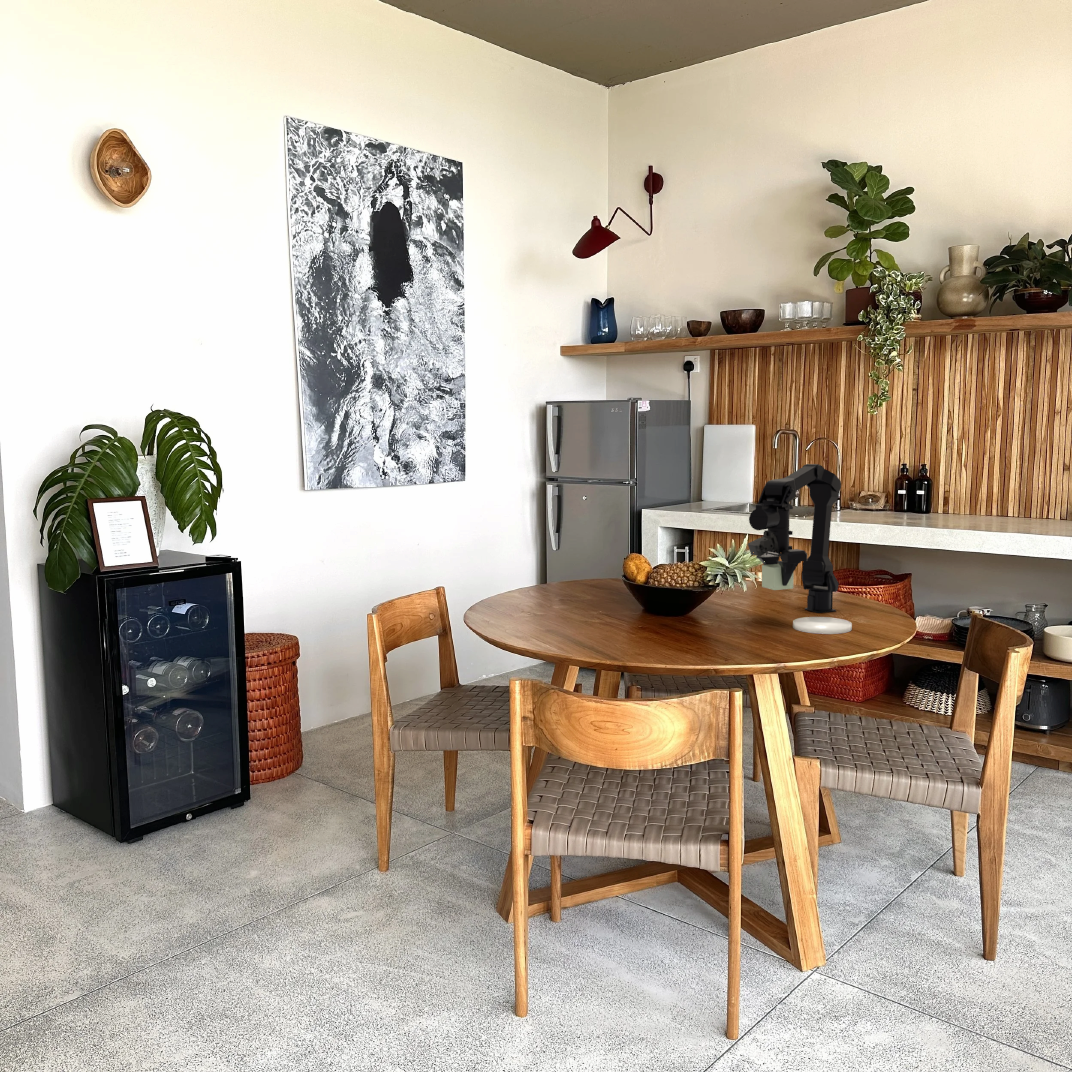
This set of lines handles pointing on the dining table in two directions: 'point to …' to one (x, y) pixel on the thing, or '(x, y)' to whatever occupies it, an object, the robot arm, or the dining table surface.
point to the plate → (822, 625)
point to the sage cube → (774, 578)
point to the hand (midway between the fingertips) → (777, 583)
